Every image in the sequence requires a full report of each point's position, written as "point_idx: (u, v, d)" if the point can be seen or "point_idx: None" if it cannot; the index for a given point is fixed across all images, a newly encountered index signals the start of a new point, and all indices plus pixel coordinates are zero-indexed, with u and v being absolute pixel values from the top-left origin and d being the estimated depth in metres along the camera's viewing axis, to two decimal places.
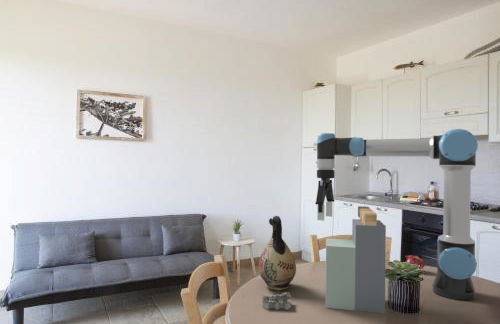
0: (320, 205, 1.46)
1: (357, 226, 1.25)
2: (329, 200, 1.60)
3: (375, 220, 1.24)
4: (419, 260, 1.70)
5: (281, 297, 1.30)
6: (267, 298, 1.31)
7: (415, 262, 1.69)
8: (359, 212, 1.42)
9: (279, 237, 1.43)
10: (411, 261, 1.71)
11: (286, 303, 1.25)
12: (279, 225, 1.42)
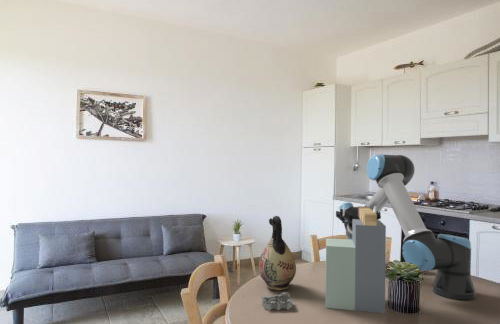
0: (377, 214, 1.64)
1: (357, 226, 1.25)
2: None
3: (375, 220, 1.24)
4: None
5: (280, 297, 1.30)
6: (266, 299, 1.30)
7: None
8: (359, 212, 1.42)
9: (279, 237, 1.43)
10: None
11: (288, 303, 1.25)
12: (279, 225, 1.42)
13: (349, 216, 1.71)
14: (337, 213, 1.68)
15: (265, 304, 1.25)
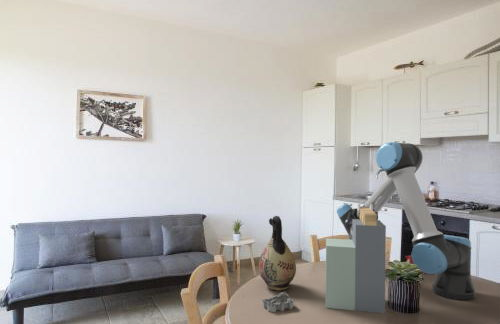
0: None
1: (357, 226, 1.25)
2: None
3: (375, 220, 1.24)
4: None
5: (279, 298, 1.30)
6: None
7: None
8: None
9: (279, 237, 1.43)
10: (411, 261, 1.71)
11: (290, 302, 1.25)
12: (279, 225, 1.42)
13: (358, 218, 1.50)
14: (351, 213, 1.47)
15: (270, 306, 1.23)
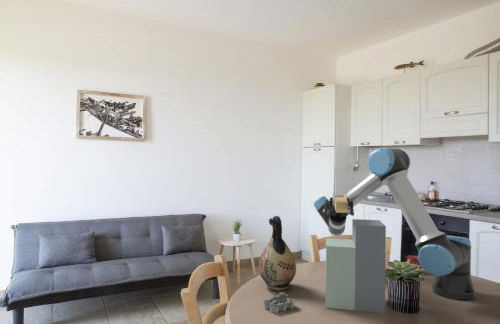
0: (349, 203, 1.46)
1: (357, 226, 1.25)
2: None
3: (346, 207, 1.26)
4: None
5: (279, 298, 1.30)
6: None
7: (415, 262, 1.69)
8: None
9: (279, 237, 1.43)
10: (411, 261, 1.71)
11: (292, 302, 1.26)
12: (279, 225, 1.42)
13: (334, 207, 1.53)
14: (327, 203, 1.49)
15: (273, 307, 1.22)
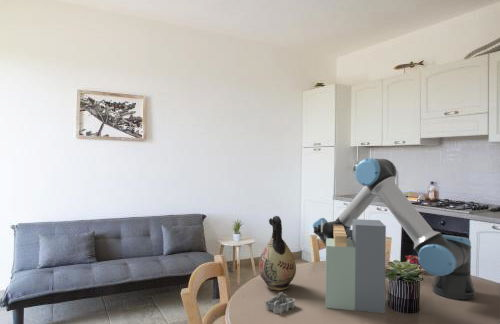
0: None
1: (357, 226, 1.25)
2: (320, 229, 1.51)
3: (345, 241, 1.26)
4: None
5: (278, 298, 1.29)
6: None
7: (415, 262, 1.69)
8: (333, 231, 1.44)
9: (279, 237, 1.43)
10: (411, 261, 1.71)
11: (293, 301, 1.26)
12: (279, 225, 1.42)
13: (329, 232, 1.53)
14: (315, 229, 1.51)
15: (276, 308, 1.21)
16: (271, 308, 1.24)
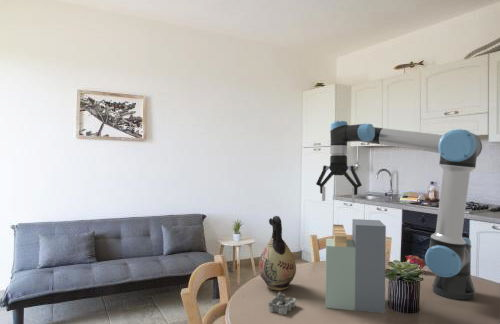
0: None
1: (357, 226, 1.25)
2: None
3: (345, 241, 1.26)
4: (419, 260, 1.70)
5: (278, 299, 1.29)
6: (269, 305, 1.25)
7: (415, 262, 1.69)
8: (333, 231, 1.44)
9: (279, 237, 1.43)
10: (411, 261, 1.71)
11: (294, 301, 1.27)
12: (279, 225, 1.42)
13: None
14: (359, 186, 1.58)
15: (282, 309, 1.21)
16: (275, 309, 1.23)
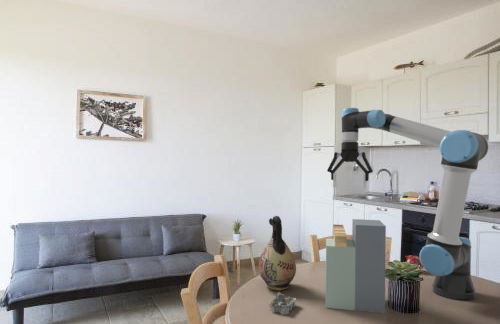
0: None
1: (357, 226, 1.25)
2: None
3: (345, 241, 1.26)
4: (419, 260, 1.70)
5: (278, 299, 1.28)
6: None
7: (415, 262, 1.69)
8: (333, 231, 1.44)
9: (279, 237, 1.43)
10: (411, 261, 1.71)
11: (294, 300, 1.27)
12: (279, 225, 1.42)
13: (357, 163, 1.63)
14: (370, 172, 1.60)
15: (284, 309, 1.21)
16: (277, 310, 1.22)
